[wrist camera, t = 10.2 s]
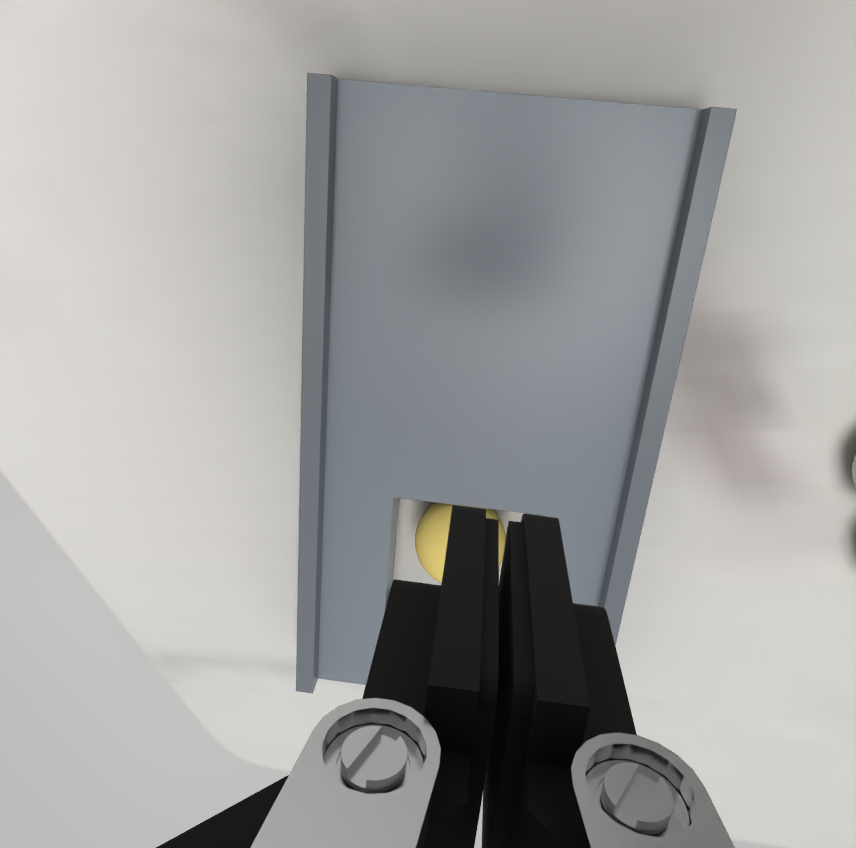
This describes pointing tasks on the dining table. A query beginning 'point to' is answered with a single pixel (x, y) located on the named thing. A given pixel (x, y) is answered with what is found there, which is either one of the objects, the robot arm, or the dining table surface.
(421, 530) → the ball
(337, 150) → the tray
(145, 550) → the dining table surface
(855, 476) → the rainbow white-lobed toy
